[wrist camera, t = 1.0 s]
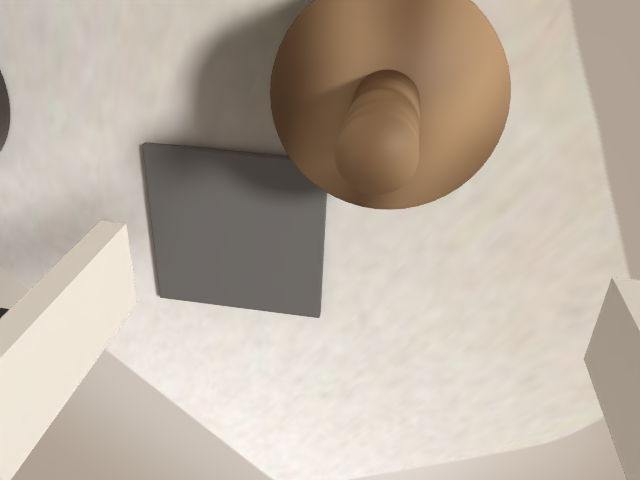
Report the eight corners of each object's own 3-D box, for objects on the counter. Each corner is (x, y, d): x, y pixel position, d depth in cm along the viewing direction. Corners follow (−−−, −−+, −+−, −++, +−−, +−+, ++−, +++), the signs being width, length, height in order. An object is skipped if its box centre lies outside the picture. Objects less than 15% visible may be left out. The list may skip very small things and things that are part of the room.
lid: (274, 190, 37) (233, 266, 29) (274, -37, 30) (223, -18, 23) (484, 212, 35) (501, 298, 28) (532, -22, 29) (572, 5, 21)
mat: (163, 293, 51) (160, 297, 51) (145, 142, 44) (142, 145, 44) (320, 313, 50) (319, 318, 49) (328, 160, 43) (327, 163, 42)
